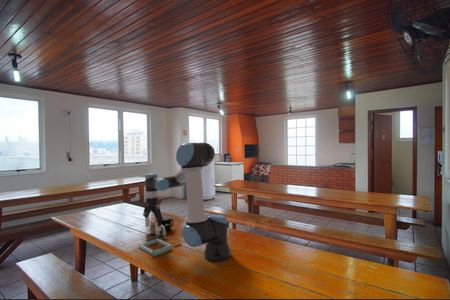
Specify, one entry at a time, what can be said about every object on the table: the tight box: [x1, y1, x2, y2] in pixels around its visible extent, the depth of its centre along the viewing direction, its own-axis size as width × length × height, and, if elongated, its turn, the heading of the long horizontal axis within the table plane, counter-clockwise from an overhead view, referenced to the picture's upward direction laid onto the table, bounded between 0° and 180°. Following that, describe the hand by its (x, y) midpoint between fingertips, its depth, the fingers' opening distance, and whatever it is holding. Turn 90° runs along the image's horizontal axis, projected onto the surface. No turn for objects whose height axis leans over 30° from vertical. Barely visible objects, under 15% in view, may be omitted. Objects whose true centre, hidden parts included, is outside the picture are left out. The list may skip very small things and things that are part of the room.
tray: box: [138, 239, 173, 258], centre depth 153 cm, size 16×13×3 cm
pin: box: [149, 220, 156, 236], centre depth 167 cm, size 3×3×12 cm
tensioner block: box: [145, 225, 167, 242], centre depth 168 cm, size 8×12×9 cm, turn 137°
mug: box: [161, 215, 174, 233], centre depth 186 cm, size 12×9×10 cm
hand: (152, 228), depth 167 cm, fingers open, 13 cm apart
